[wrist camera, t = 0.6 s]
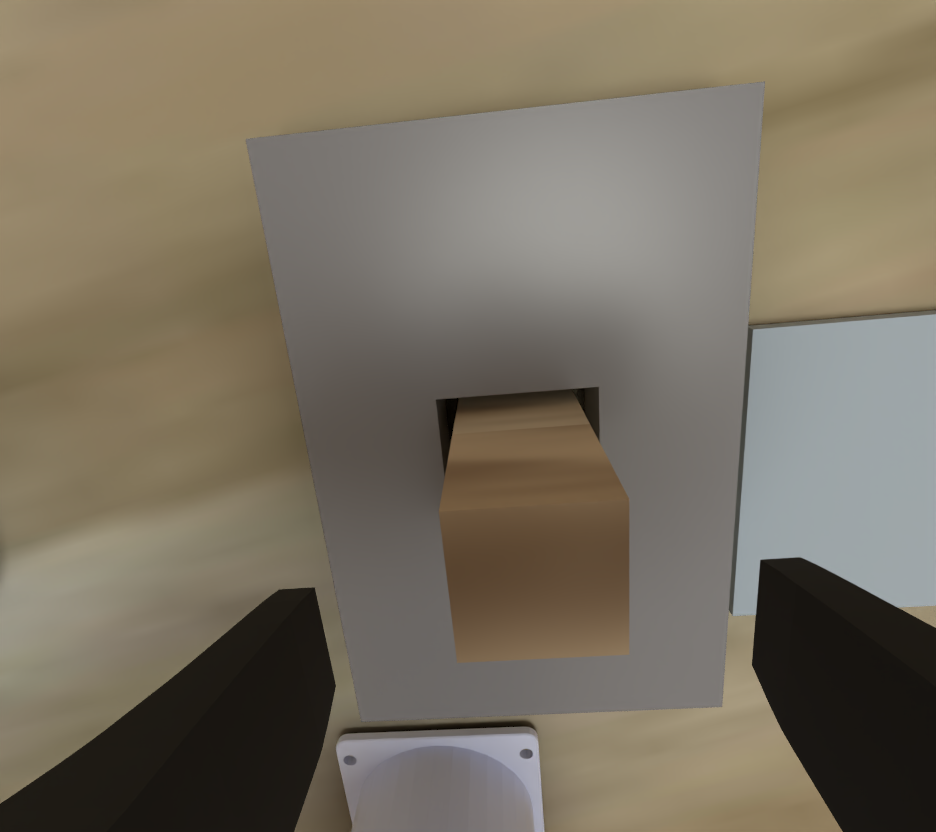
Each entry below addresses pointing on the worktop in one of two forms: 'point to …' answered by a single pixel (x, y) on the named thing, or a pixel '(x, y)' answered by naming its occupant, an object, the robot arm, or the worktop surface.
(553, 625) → the plug
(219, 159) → the worktop surface
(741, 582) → the mat
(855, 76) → the worktop surface
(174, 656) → the worktop surface
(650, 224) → the grey flat plate
